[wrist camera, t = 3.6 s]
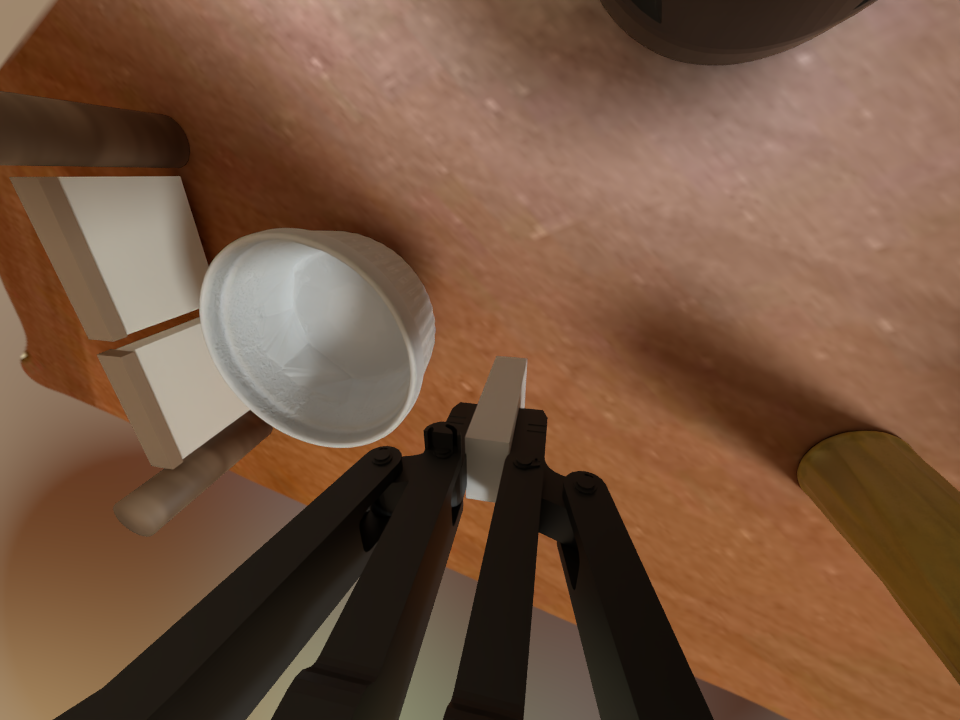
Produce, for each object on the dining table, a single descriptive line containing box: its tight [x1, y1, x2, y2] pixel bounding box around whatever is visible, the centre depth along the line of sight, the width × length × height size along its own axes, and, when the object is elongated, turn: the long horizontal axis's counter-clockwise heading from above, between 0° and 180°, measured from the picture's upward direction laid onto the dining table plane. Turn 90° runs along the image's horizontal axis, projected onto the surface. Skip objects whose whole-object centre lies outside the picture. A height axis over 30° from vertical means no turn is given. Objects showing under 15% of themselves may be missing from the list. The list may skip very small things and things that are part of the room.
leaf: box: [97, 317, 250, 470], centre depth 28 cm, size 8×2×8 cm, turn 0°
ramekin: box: [199, 228, 435, 448], centre depth 24 cm, size 13×13×7 cm
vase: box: [797, 431, 960, 685], centre depth 18 cm, size 6×6×14 cm
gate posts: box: [0, 91, 272, 536], centre depth 25 cm, size 25×3×11 cm, turn 0°
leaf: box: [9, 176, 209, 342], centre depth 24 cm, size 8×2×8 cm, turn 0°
